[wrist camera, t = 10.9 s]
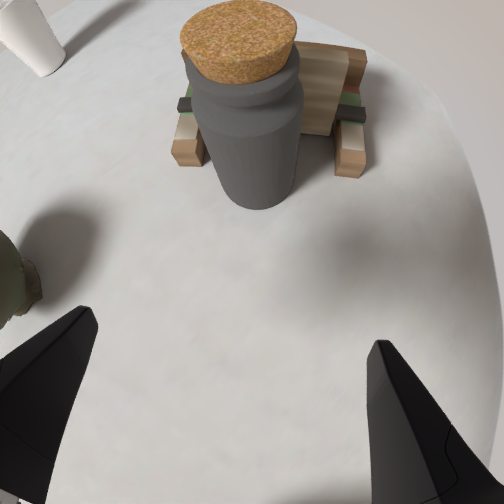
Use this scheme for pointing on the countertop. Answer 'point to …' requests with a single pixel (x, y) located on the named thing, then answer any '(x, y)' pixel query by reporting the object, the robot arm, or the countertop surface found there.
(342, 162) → the wooden rack
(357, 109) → the wooden flat panel
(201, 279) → the countertop surface
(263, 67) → the bottle
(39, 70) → the drinking glass
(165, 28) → the countertop surface
